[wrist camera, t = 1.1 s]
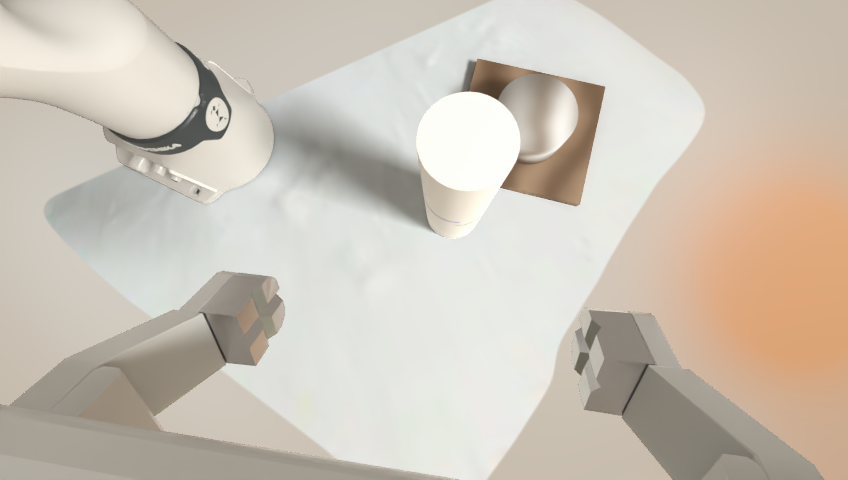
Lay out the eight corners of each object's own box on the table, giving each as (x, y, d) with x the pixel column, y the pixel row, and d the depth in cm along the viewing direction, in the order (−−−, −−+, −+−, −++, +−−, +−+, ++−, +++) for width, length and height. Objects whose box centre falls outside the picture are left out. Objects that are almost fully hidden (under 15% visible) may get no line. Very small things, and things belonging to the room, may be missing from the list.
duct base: (447, 174, 50) (448, 159, 44) (476, 63, 52) (481, 34, 46) (576, 206, 49) (596, 194, 43) (601, 91, 51) (623, 64, 45)
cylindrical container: (432, 182, 50) (428, 83, 26) (483, 193, 50) (529, 102, 25) (421, 232, 50) (406, 179, 25) (473, 243, 49) (509, 200, 24)
